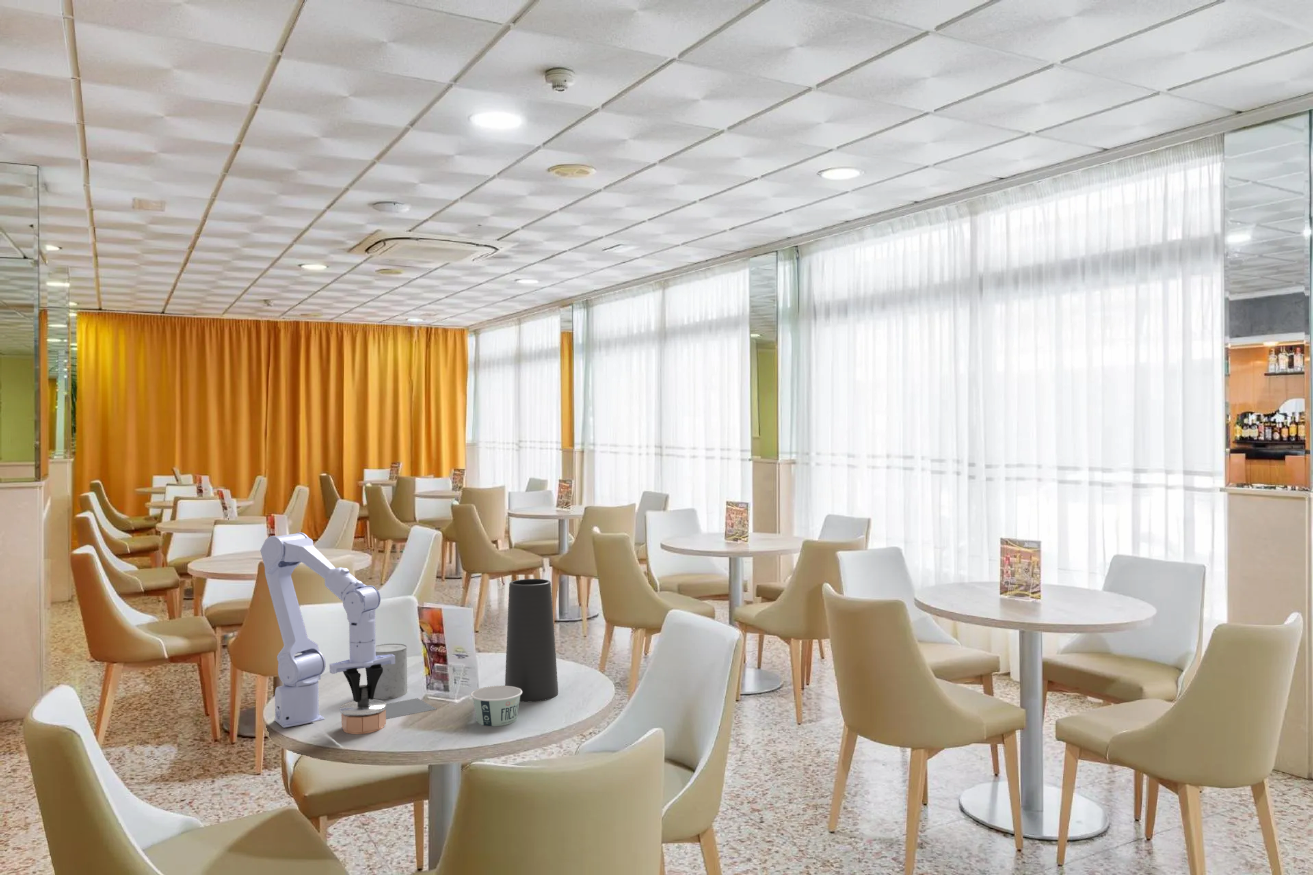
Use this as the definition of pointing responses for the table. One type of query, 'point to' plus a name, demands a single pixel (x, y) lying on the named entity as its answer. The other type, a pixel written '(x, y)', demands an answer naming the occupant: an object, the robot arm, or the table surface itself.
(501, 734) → the table surface
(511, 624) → the vase
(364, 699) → the lid
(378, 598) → the robot arm
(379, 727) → the bowl
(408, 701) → the mat
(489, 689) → the food container
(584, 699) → the table surface
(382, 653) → the grey concrete cylinder
